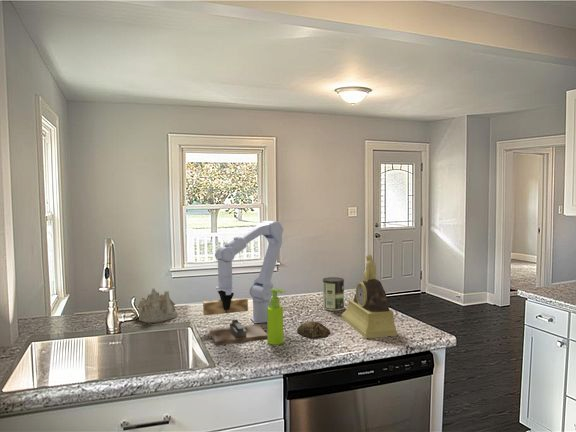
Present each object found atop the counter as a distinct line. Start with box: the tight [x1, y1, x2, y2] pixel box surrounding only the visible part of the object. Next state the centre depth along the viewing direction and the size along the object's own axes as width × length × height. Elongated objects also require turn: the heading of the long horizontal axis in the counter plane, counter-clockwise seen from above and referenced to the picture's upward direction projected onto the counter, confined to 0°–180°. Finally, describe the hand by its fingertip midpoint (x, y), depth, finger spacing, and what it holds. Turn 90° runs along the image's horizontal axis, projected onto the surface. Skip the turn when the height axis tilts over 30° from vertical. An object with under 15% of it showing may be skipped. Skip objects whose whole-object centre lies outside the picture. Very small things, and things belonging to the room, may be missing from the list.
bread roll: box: [296, 320, 331, 339], centre depth 172 cm, size 13×12×5 cm
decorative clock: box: [341, 253, 398, 339], centre depth 179 cm, size 28×13×30 cm, turn 12°
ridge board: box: [209, 319, 268, 346], centre depth 170 cm, size 20×15×4 cm
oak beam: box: [202, 297, 249, 316], centre depth 178 cm, size 18×3×5 cm, turn 108°
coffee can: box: [322, 276, 345, 312], centre depth 208 cm, size 10×10×14 cm
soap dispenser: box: [266, 288, 286, 346], centre depth 161 cm, size 6×7×20 cm
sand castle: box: [136, 287, 178, 323], centre depth 197 cm, size 16×16×15 cm
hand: (225, 308), depth 178 cm, fingers closed on oak beam, 3 cm apart
